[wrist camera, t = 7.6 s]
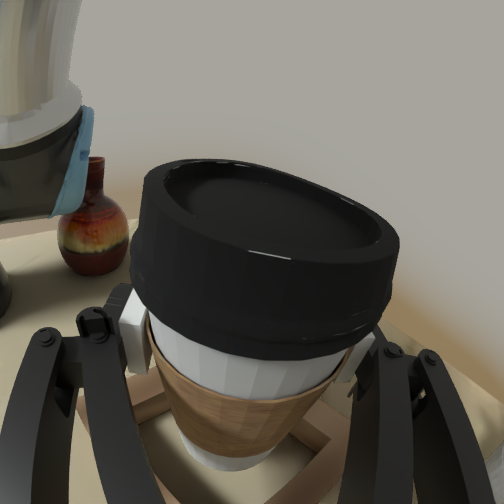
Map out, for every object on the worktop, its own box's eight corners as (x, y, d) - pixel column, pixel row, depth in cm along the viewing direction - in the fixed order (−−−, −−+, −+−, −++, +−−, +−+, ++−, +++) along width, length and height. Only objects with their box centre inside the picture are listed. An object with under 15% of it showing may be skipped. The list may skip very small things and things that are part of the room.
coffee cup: (217, 363, 20) (244, 153, 13) (315, 421, 16) (419, 207, 9) (133, 429, 13) (75, 173, 7) (244, 515, 10) (402, 321, 3)
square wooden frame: (83, 418, 16) (72, 399, 15) (228, 351, 27) (231, 330, 26) (211, 578, 7) (213, 583, 6) (356, 450, 18) (372, 434, 16)
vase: (141, 252, 42) (143, 154, 36) (109, 290, 32) (101, 168, 26) (86, 242, 42) (83, 152, 35) (48, 273, 32) (35, 166, 25)
